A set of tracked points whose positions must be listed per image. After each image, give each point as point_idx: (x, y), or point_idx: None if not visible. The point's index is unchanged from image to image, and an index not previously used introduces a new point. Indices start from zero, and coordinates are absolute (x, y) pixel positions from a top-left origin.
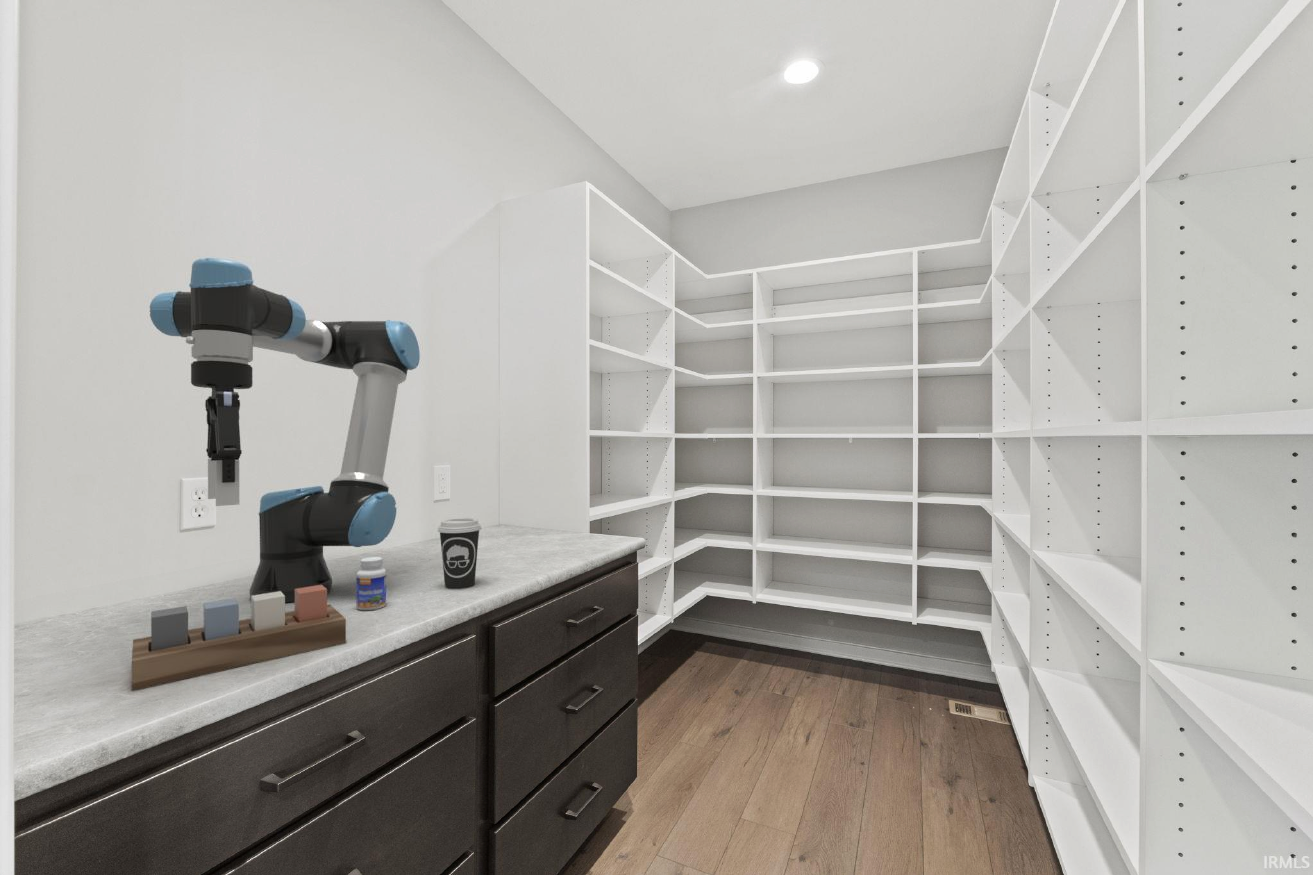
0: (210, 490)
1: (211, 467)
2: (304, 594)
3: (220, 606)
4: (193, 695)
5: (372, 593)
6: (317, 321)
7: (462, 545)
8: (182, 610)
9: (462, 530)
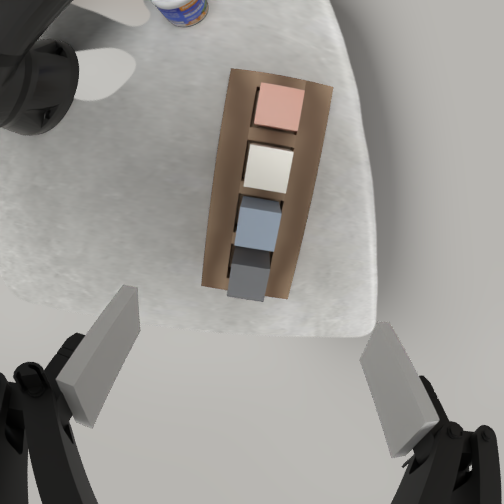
0: (130, 343)
1: (103, 397)
2: (298, 123)
3: (275, 234)
4: (346, 252)
5: (202, 4)
6: None
7: None
8: (255, 272)
9: None
